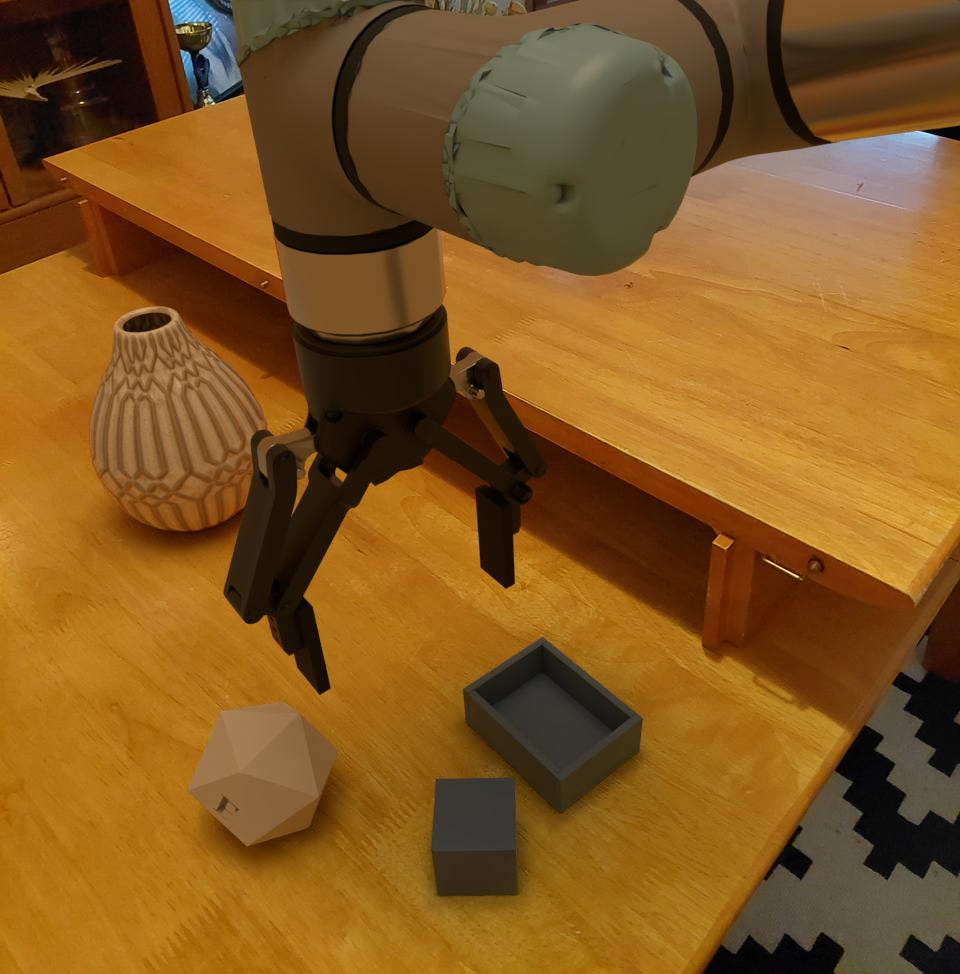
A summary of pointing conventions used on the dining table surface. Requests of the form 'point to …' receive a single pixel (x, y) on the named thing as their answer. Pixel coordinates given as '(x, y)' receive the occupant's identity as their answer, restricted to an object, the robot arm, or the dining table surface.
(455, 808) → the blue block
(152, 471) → the vase
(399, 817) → the dining table surface
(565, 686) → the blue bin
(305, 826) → the die
